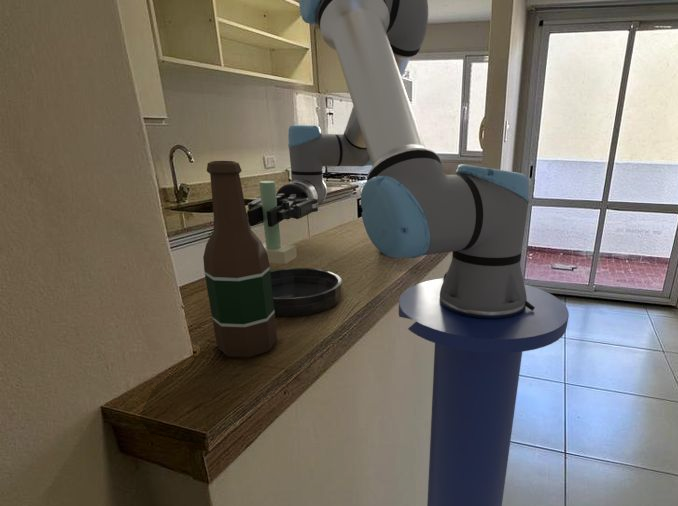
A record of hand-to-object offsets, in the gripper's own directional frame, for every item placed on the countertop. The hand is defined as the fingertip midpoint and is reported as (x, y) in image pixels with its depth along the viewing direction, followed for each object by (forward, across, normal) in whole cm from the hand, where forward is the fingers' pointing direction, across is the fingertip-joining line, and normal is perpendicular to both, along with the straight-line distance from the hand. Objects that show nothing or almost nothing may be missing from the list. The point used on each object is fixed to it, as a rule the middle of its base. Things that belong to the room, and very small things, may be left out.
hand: (259, 218), depth 81 cm
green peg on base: (-6, 0, -9) cm, 11 cm away
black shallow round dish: (+8, -8, -12) cm, 17 cm away
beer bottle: (+26, -7, -12) cm, 30 cm away
